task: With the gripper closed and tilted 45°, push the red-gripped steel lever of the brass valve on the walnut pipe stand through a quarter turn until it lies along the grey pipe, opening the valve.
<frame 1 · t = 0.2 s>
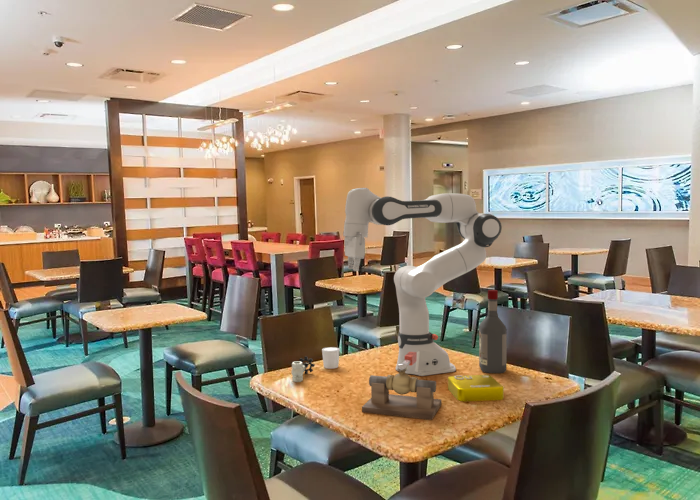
hand: (353, 269, 202), 39 cm above the table, tool pointing down, fingers open, 8 cm apart
valve stand: (402, 408, 167), on the table
valve lever: (407, 361, 172), point 13 cm above the table, hinge at 0.0°
element tile: (475, 395, 180), on the table
liquor: (492, 370, 207), on the table
white cylinder: (331, 367, 215), on the table
valve: (301, 378, 201), on the table
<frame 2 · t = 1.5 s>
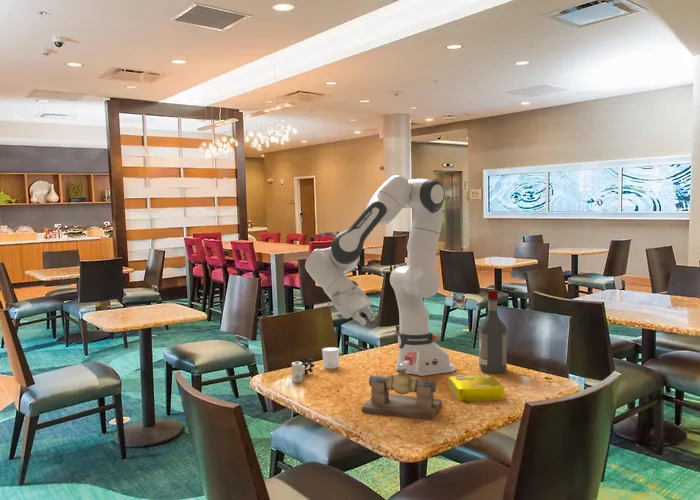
hand: (369, 321, 180), 24 cm above the table, tool tilted 45°, fingers open, 7 cm apart
nothing on the table moved.
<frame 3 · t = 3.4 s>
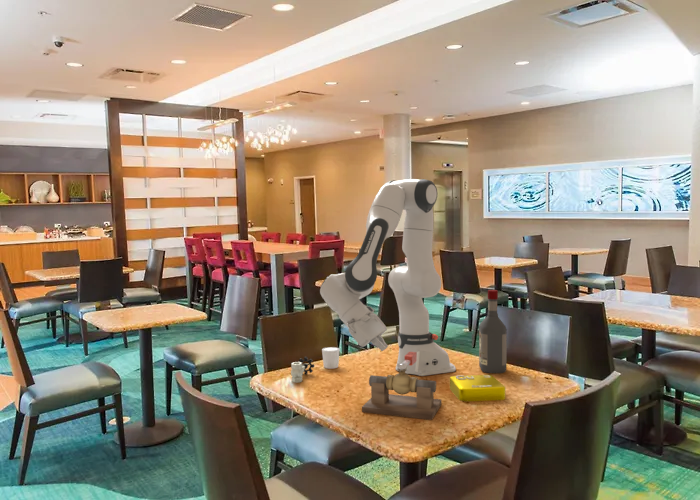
hand: (385, 349, 178), 15 cm above the table, tool tilted 45°, fingers closed
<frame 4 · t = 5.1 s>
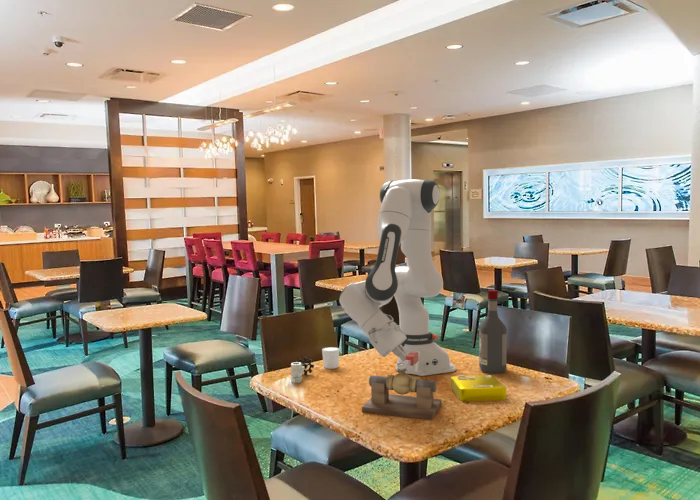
hand: (406, 358, 176), 13 cm above the table, tool tilted 45°, fingers closed, pressing on valve lever
valve lever: (408, 362, 172), point 13 cm above the table, hinge at 2.8°, touching gripper
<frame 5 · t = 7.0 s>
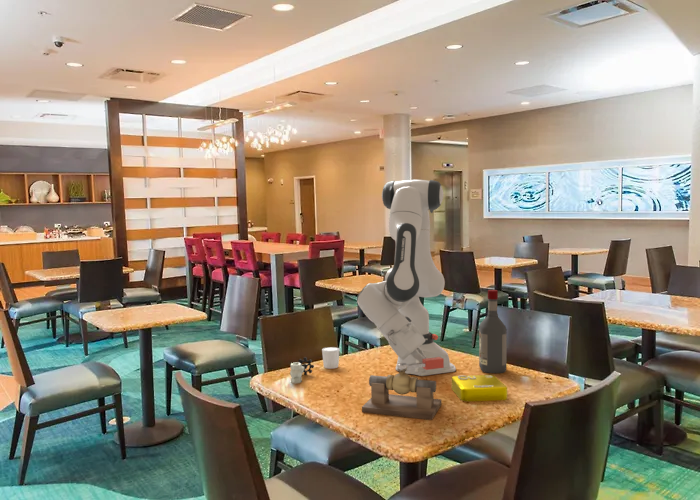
hand: (425, 361, 172), 13 cm above the table, tool tilted 45°, fingers closed
valve lever: (419, 364, 168), point 13 cm above the table, hinge at 49.4°, touching gripper
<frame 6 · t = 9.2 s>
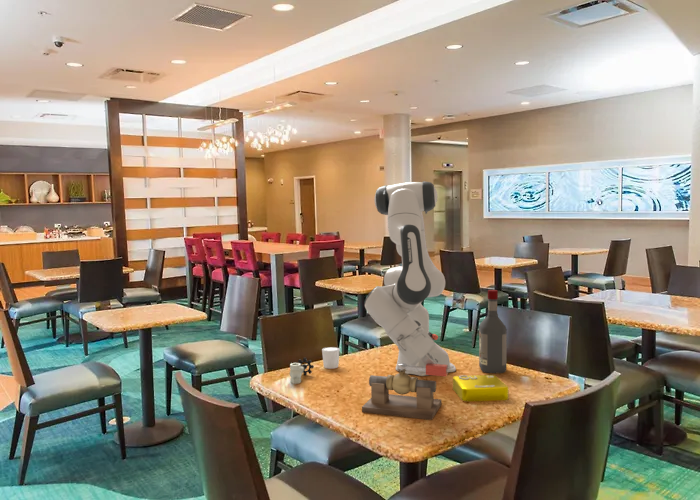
hand: (435, 367, 166), 13 cm above the table, tool tilted 45°, fingers closed
valve lever: (421, 368, 164), point 13 cm above the table, hinge at 90.3°, touching gripper
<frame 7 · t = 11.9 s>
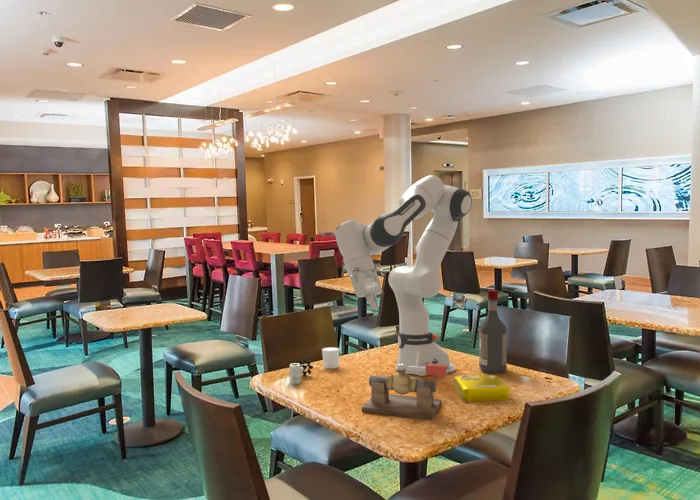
hand: (375, 309, 176), 28 cm above the table, tool tilted 25°, fingers closed
valve lever: (421, 368, 164), point 13 cm above the table, hinge at 90.3°
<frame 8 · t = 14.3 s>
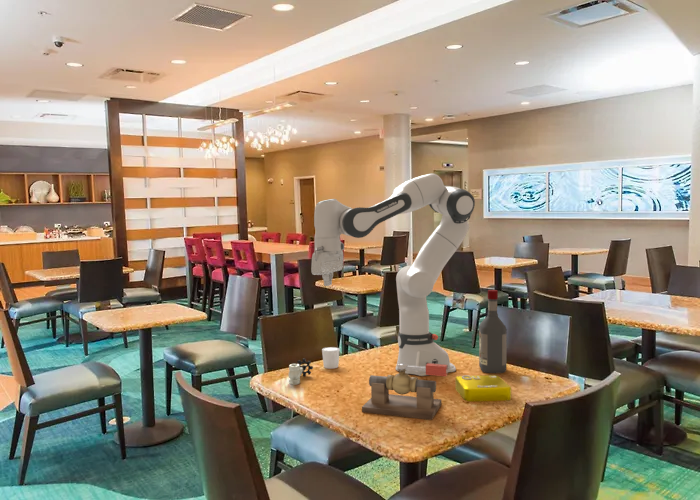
hand: (327, 285, 193), 34 cm above the table, tool pointing down, fingers closed
at the end: valve lever at +90° (first picture: +0°) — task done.
